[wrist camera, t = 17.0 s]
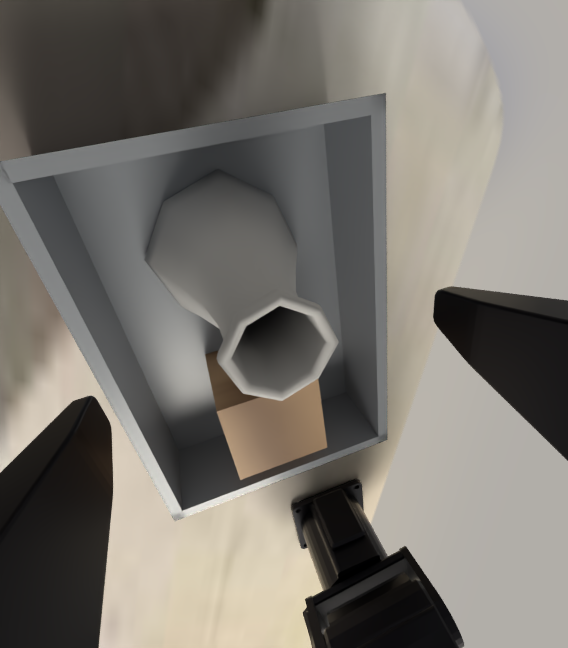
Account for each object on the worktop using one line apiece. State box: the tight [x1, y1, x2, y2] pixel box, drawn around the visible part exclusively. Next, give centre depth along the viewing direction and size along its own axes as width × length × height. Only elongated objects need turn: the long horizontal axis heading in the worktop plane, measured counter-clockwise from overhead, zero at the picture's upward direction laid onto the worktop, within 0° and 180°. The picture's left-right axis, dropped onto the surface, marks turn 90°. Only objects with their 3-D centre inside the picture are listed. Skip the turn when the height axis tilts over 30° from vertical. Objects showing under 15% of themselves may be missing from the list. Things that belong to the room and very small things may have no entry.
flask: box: [144, 169, 339, 401], centre depth 14 cm, size 7×7×10 cm
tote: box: [0, 93, 387, 521], centre depth 18 cm, size 18×13×5 cm
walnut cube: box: [205, 350, 327, 480], centre depth 20 cm, size 5×5×5 cm
